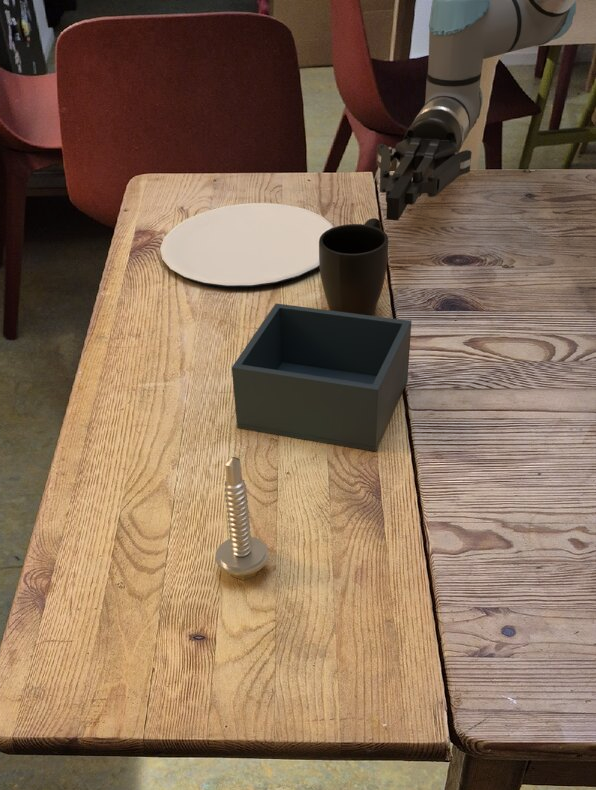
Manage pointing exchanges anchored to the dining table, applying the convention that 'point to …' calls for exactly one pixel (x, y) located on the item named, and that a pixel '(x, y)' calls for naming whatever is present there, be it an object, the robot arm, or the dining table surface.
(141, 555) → the dining table surface
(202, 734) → the dining table surface
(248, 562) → the screw
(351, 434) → the box
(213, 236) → the plate
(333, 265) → the mug
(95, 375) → the dining table surface
